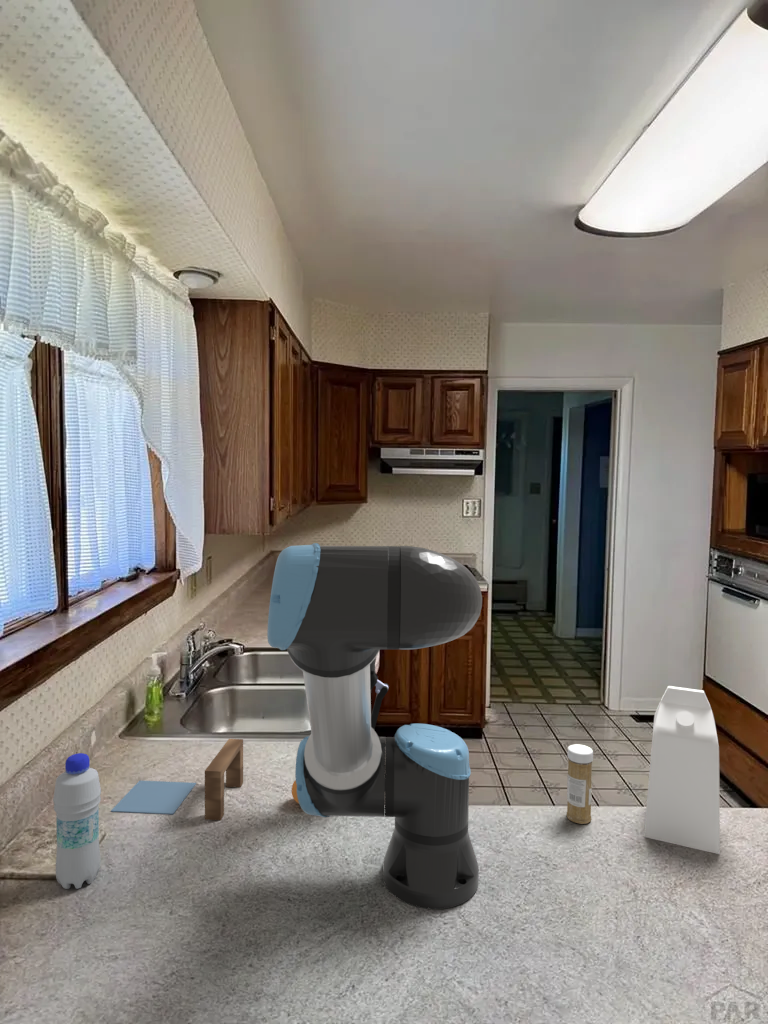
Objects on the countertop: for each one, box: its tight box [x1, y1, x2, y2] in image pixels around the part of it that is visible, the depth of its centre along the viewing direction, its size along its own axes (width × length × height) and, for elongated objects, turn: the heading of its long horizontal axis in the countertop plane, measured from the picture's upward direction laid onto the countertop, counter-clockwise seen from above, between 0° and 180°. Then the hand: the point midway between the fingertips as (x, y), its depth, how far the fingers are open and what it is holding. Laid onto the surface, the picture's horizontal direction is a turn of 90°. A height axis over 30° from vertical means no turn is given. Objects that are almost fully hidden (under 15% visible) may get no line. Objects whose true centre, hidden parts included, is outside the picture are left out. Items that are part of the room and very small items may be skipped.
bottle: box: [52, 752, 102, 890], centre depth 98 cm, size 7×7×20 cm
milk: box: [643, 685, 721, 855], centre depth 114 cm, size 12×12×26 cm
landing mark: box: [110, 779, 197, 815], centre depth 124 cm, size 12×12×1 cm
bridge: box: [204, 738, 244, 821], centre depth 123 cm, size 3×14×9 cm, turn 176°
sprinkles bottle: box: [566, 743, 594, 825], centre depth 118 cm, size 5×5×13 cm
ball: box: [291, 779, 300, 805], centre depth 122 cm, size 6×6×6 cm
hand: (354, 768), depth 122 cm, fingers closed
